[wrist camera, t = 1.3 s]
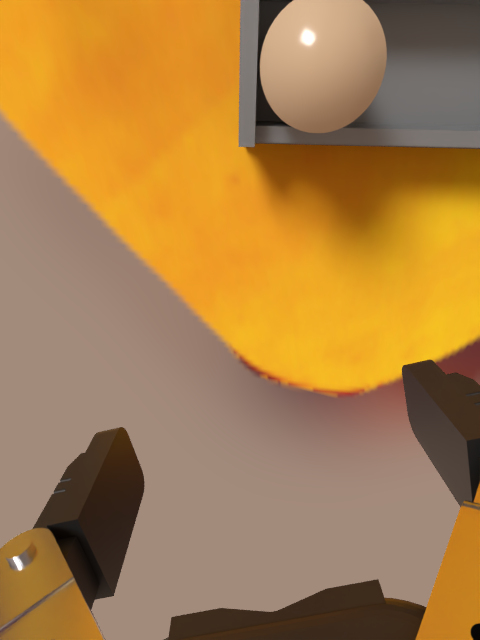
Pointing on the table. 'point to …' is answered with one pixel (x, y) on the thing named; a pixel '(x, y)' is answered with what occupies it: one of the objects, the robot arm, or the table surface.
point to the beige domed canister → (323, 63)
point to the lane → (384, 79)
